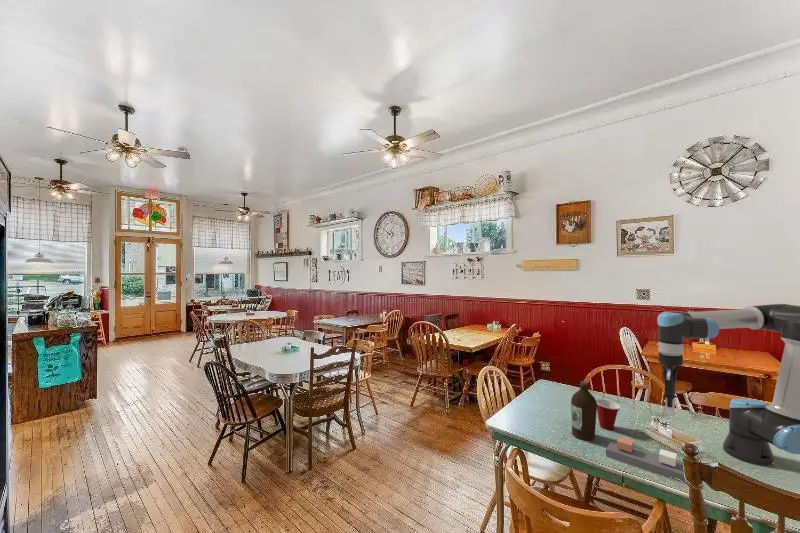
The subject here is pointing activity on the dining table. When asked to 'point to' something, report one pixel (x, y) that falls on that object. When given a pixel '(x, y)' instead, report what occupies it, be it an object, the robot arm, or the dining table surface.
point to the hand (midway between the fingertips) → (669, 414)
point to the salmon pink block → (625, 444)
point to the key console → (645, 461)
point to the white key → (667, 457)
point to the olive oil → (583, 413)
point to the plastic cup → (607, 413)
